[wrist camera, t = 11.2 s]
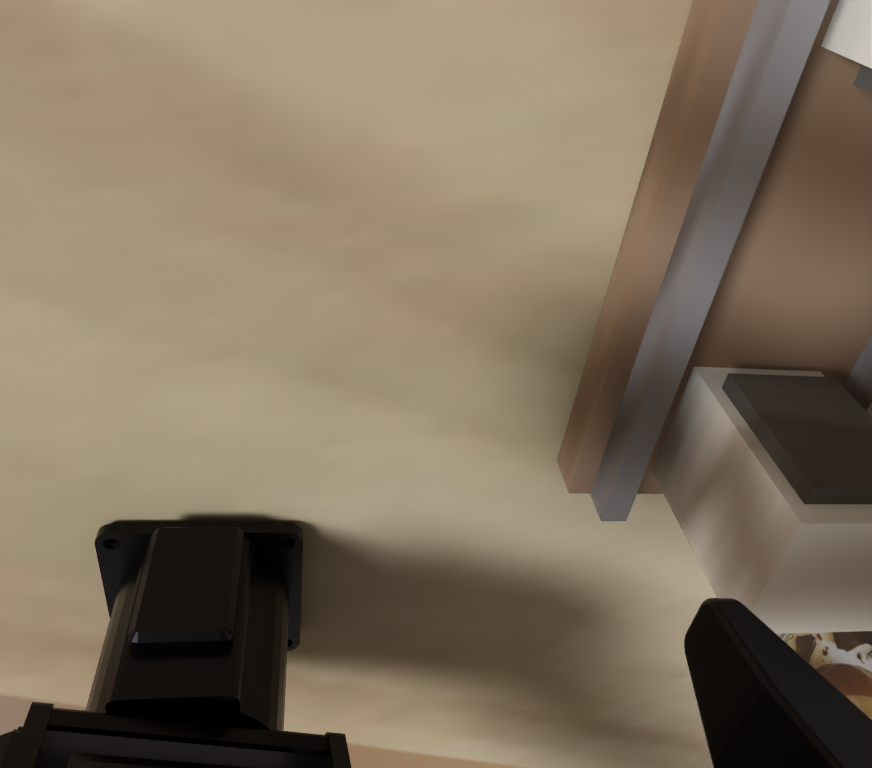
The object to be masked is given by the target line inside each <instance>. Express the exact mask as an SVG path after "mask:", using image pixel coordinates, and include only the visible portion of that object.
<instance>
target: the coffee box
mask: <svg viewBox="0 0 872 768" xmlns="http://www.w3.org/2000/svg"><path fill="white" fill-rule="evenodd" d="M777 635H778V636H779V637H780V638H781V639H782V640H784V641H785V642H786V643H787V644H788V645H789V646H790V647H791V648H792V649H794V650H795V651H796V652H797V653H798V654H799V655H800V656H801V657H802V658H804V659H805V660H806V661H807V662H808V663H809V664H810V665H811V666H813V667H814V668H815V669H816V670H817V671H818V672H819V673H820V674H821V675H823V676H824V677H825V678H826V679H827V680H828V681H829V682H830V683H831V684H833V685H834V686H835V687H836V688H837V689H838V690H839V691H840V692H841V693H843V694H844V695H845V696H846V697H847V698H848V699H849V700H850V701H851V702H853V703H854V704H855V705H856V706H857V707H858V708H859V709H860V710H862V711H863V712H864V713H865V714H866V715H867V716H868V717H869V718H870V719H872V631H854V632H821V633H787V634H777Z"/></svg>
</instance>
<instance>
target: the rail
mask: <svg viewBox="0 0 872 768" xmlns="http://www.w3.org/2000/svg"><path fill="white" fill-rule="evenodd" d="M838 2H839V0H694V1H693V4H692V7H691V11H690V14H689V17H688V21H687V24H686V28H685V31H684V34H683V38H682V41H681V44H680V48H679V51H678V55H677V58H676V61H675V65H674V68H673V72H672V75H671V78H670V82H669V85H668V88H667V92H666V95H665V99H664V102H663V105H662V109H661V112H660V115H659V119H658V122H657V126H656V129H655V132H654V136H653V139H652V142H651V146H650V149H649V153H648V156H647V159H646V163H645V166H644V170H643V173H642V176H641V180H640V183H639V186H638V190H637V193H636V197H635V200H634V203H633V207H632V210H631V213H630V217H629V220H628V224H627V227H626V230H625V234H624V237H623V240H622V244H621V247H620V251H619V254H618V257H617V261H616V264H615V268H614V271H613V274H612V278H611V281H610V284H609V288H608V291H607V295H606V298H605V301H604V305H603V308H602V311H601V315H600V318H599V322H598V325H597V328H596V332H595V335H594V339H593V342H592V345H591V349H590V352H589V355H588V359H587V362H586V366H585V369H584V372H583V376H582V379H581V382H580V386H579V389H578V393H577V396H576V399H575V403H574V406H573V409H572V413H571V416H570V420H569V423H568V426H567V430H566V433H565V437H564V440H563V443H562V447H561V450H560V453H559V457H558V460H557V462H558V465H559V467H560V470H561V473H562V475H563V478H564V481H565V484H566V486H567V489H568V492H569V493H590V494H591V497H592V499H593V502H594V504H595V507H596V509H597V512H598V514H599V517H600V519H601V521H626V520H627V517H628V515H629V512H630V509H631V507H632V504H633V502H634V499H635V497H636V494H664V495H665V497H666V499H667V501H668V502H669V504H670V506H671V508H672V510H673V512H674V514H675V516H676V518H677V520H678V522H679V524H680V526H681V528H682V530H683V532H684V534H685V536H686V538H687V540H688V542H689V544H690V545H691V547H692V549H693V551H694V553H695V555H696V557H697V559H698V561H699V563H700V565H701V567H702V569H703V571H704V573H705V575H706V577H707V579H708V581H709V583H710V585H711V587H712V588H713V590H714V592H715V594H716V596H717V598H732V599H736V600H738V601H739V602H741V603H742V604H743V605H745V606H746V607H747V608H748V609H749V610H750V611H751V612H752V613H753V614H755V615H756V616H757V617H758V618H759V619H760V620H761V621H762V622H764V623H765V624H766V625H767V626H768V627H769V628H770V629H771V630H772V631H774V632H775V633H776V634H787V633H821V632H854V631H872V94H871V93H869V92H867V91H865V90H863V89H861V88H859V87H857V86H855V85H853V84H854V81H855V79H856V77H857V74H858V72H859V70H860V67H861V65H862V64H860V63H858V62H855V61H853V60H851V59H849V58H846V57H844V56H842V55H840V54H837V53H835V52H833V51H830V50H828V49H826V48H824V47H821V45H822V42H823V40H824V37H825V35H826V32H827V30H828V27H829V25H830V22H831V19H832V17H833V14H834V12H835V9H836V7H837V4H838Z"/></svg>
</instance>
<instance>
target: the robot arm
mask: <svg viewBox="0 0 872 768" xmlns="http://www.w3.org/2000/svg"><path fill="white" fill-rule="evenodd" d="M284 538H292V539H284ZM111 539H115V540H111ZM95 548H96V552H97V557H98V562H99V567H100V572H101V577H102V582H103V586H104V591H105V596H106V601H107V606H108V611H109V616H110V622H109V625H108V629H107V633H106V637H105V640H104V644H103V648H102V651H101V655H100V659H99V663H98V666H97V670H96V674H95V677H94V681H93V685H92V689H91V692H90V696H89V700H88V703H87V707H86V711H82V710H72V709H62V708H53V706H54V704H49V703H40V702H32V704H31V707H30V710H29V712H28V715H27V718H26V721H25V723H24V726H23V727H19V728H18V729H17V730H15V729H14V731H12V732H9V733H6V734H3V735H1V736H0V768H351V764H350V759H349V753H348V747H347V742H346V737H345V734H340V733H331V732H327V733H326V734H325V735H318V734H308V733H299V732H289V731H284V710H285V687H286V664H287V651H290V650H293V649H295V648H296V647H298V645H299V642H300V611H301V580H302V550H303V532H302V530H301V528H300V527H298V526H296V525H294V524H108V525H105V526H103V527H101V528H100V529H99V530H98V533H97V536H96V539H95ZM684 647H685V654H686V659H687V663H688V667H689V671H690V675H691V679H692V683H693V687H694V691H695V695H696V699H697V703H698V707H699V711H700V716H701V720H702V724H703V728H704V732H705V736H706V740H707V744H708V748H709V751H710V755H711V759H712V762H713V766H714V768H872V719H870V718H869V717H868V716H867V715H866V714H865V713H864V712H863V711H862V710H860V709H859V708H858V707H857V706H856V705H855V704H854V703H853V702H851V701H850V700H849V699H848V698H847V697H846V696H845V695H844V694H843V693H841V692H840V691H839V690H838V689H837V688H836V687H835V686H834V685H833V684H831V683H830V682H829V681H828V680H827V679H826V678H825V677H824V676H823V675H821V674H820V673H819V672H818V671H817V670H816V669H815V668H814V667H813V666H811V665H810V664H809V663H808V662H807V661H806V660H805V659H804V658H802V657H801V656H800V655H799V654H798V653H797V652H796V651H795V650H794V649H792V648H791V647H790V646H789V645H788V644H787V643H786V642H785V641H784V640H782V639H781V638H780V637H779V636H778V635H777V634H776V633H775V632H774V631H772V630H771V629H770V628H769V627H768V626H767V625H766V624H765V623H764V622H762V621H761V620H760V619H759V618H758V617H757V616H756V615H755V614H753V613H752V612H751V611H750V610H749V609H748V608H747V607H746V606H745V605H743V604H742V603H741V602H739V601H738V600H736V599H732V598H710V599H707V600H705V601H704V602H703V603H702V604H701V606H700V608H699V610H698V612H697V614H696V615H695V617H694V619H693V621H692V623H691V625H690V627H689V629H688V631H687V633H686V636H685V641H684Z"/></svg>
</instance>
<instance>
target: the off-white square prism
mask: <svg viewBox="0 0 872 768" xmlns="http://www.w3.org/2000/svg"><path fill="white" fill-rule="evenodd" d="M821 47H824V48H826V49H828V50H830V51H833V52H835V53H837V54H840V55H842V56H844V57H846V58H849V59H851V60H853V61H855V62H858V63H860V64H862V65H861V67H860V70H859V72H858V74H857V77H856V79H855V81H854V84H853V85H855V86H857V87H859V88H861V89H863V90H865V91H867V92H869V93H871V94H872V0H839V2H838V4H837V7H836V9H835V12H834V14H833V17H832V19H831V22H830V25H829V27H828V30H827V32H826V35H825V37H824V40H823V42H822V45H821Z"/></svg>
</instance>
